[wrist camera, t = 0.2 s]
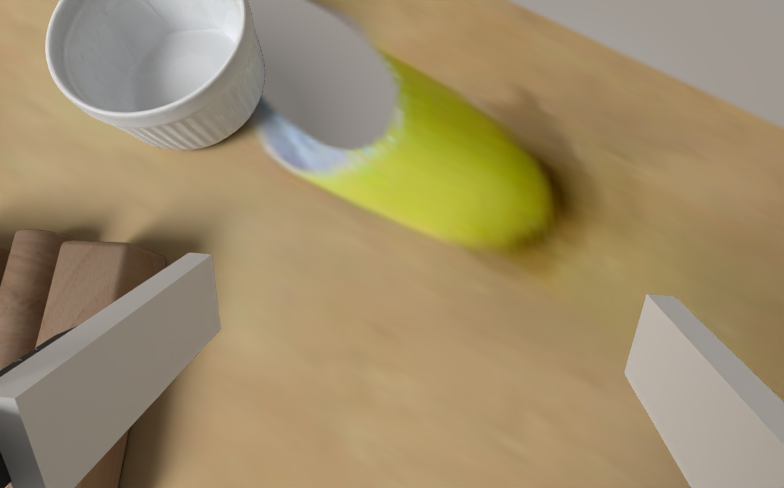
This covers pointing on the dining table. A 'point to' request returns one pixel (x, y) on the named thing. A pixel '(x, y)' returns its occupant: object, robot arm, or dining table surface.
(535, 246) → the dining table surface
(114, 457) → the wooden block set
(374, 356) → the dining table surface
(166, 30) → the ramekin
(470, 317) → the dining table surface
